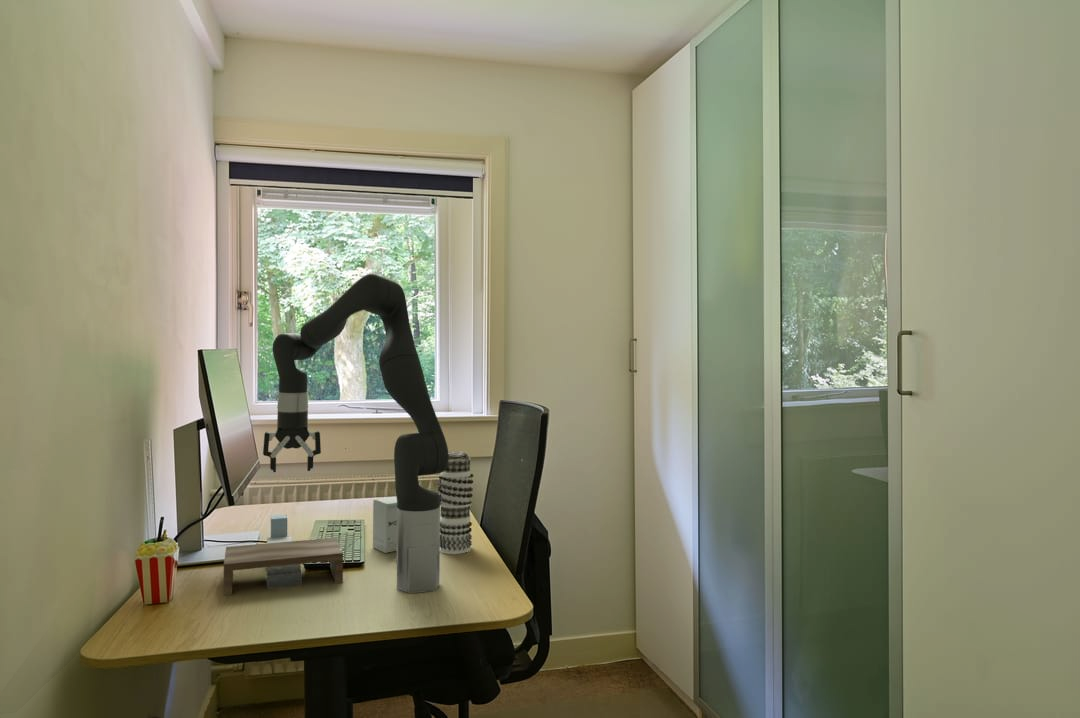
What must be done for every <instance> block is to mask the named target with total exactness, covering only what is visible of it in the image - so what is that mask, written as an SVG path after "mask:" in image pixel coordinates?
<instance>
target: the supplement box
mask: <svg viewBox="0 0 1080 718" xmlns="http://www.w3.org/2000/svg"><path fill="white" fill-rule="evenodd" d="M372 502H373V503H372V505H373V506H372V507H373V509H372V510H373V511H372V512H373V513H372V523H373V524H372V548H374V549H376V550H378V551H379V552H382V553H385V554H388V553H391V552H397V497H396V496H393V497H384V498H376V499H373V500H372Z"/></svg>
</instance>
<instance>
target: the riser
mask: <svg viewBox="0 0 1080 718" xmlns="http://www.w3.org/2000/svg"><path fill="white" fill-rule="evenodd" d="M329 561H330V566H329V568H330V571H331V575H332V577H333V579H334V582H335V584H342V583H344V582H343V581H344V579H343V578H344V577H343V576H344V552H343V551H342V550H341V547H340V545H339V543H338V541H337V538H332V537H326V538H316V539H304V540H292V541H290V542H278V543H267V542H266V543H256V544H247V545H246V544H245V545H233V546H226V547H225V552H224V560H223V596H229V595H233V581H234V580H233V579H234V571H240V570H241V571H242V570H244V571H245V570H252V569H253V570H254V569H263V568H267V567H275V566H285V565H295V564H300V565H303V564H304V565H306V564H313V563H314V564H315V563H325V562H329Z"/></svg>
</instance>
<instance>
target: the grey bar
mask: <svg viewBox="0 0 1080 718" xmlns="http://www.w3.org/2000/svg"><path fill="white" fill-rule="evenodd" d="M290 541H293V537H292V535H288V514H278V515H277V514H276V515H271V516H270V537H266V544H267V543H278V542H290Z"/></svg>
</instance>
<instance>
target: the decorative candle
mask: <svg viewBox="0 0 1080 718" xmlns="http://www.w3.org/2000/svg"><path fill="white" fill-rule="evenodd" d="M448 453H449V462H448V466H447V468H446V470H445V471H444V472H442V473H439V476H438V479H439V480H437V486H438V487H437V491H438V494H439V495H440V554H447V555H461V553H462V554H465V552H467V553H469V552H471V551H472V534H471V533H472V529H473V528H472V527H471V526H473V523H472V522H471V512H470V511H471V510H470V509H471V507H470V506H472V503H473V502H472V501H471V500H470V498H472V497H473V494H472V493H471V492H473V490H474V488H472V486H470V485H472V484H473V483H474V480H473V479H472V478H473V477H474V474H473V473H471V472H472V470H471V459H472V458H471V457H469V456H468V453H467V452H464V451H448ZM470 478H471V479H470ZM470 550H471V551H470ZM468 551H469V552H468Z"/></svg>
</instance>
